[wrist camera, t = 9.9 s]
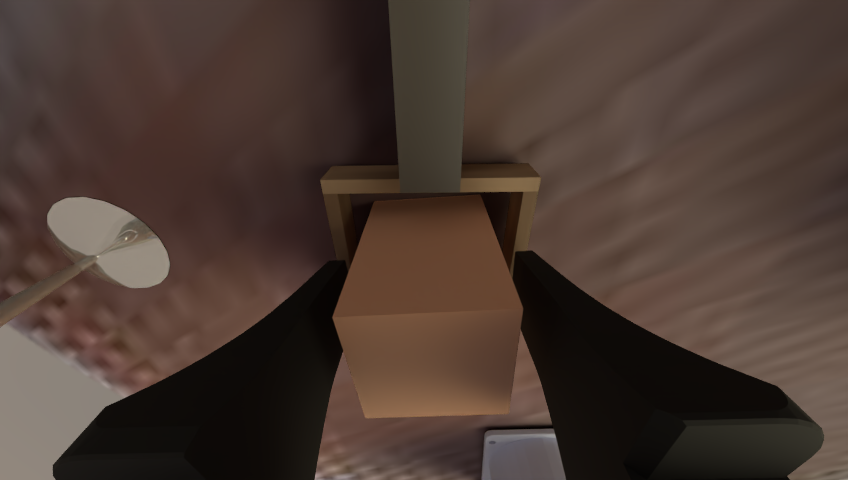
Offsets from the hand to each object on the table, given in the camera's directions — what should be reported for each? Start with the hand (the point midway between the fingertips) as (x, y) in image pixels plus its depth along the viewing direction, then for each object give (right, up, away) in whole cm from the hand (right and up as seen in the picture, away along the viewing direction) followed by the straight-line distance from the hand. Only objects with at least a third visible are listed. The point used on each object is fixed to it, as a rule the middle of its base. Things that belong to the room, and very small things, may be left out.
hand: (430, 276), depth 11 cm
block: (0, +1, +2) cm, 2 cm away
